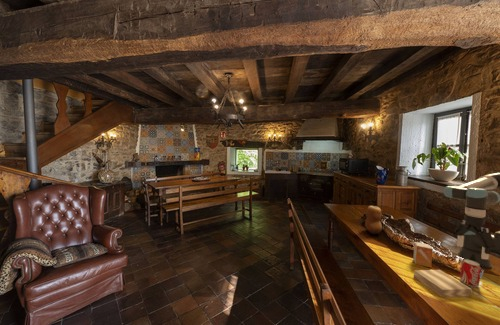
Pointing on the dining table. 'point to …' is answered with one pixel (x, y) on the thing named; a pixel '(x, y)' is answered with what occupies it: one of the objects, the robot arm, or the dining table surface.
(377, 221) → the butternut squash
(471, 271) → the soda can
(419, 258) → the small box
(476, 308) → the dining table surface
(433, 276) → the square wooden board
